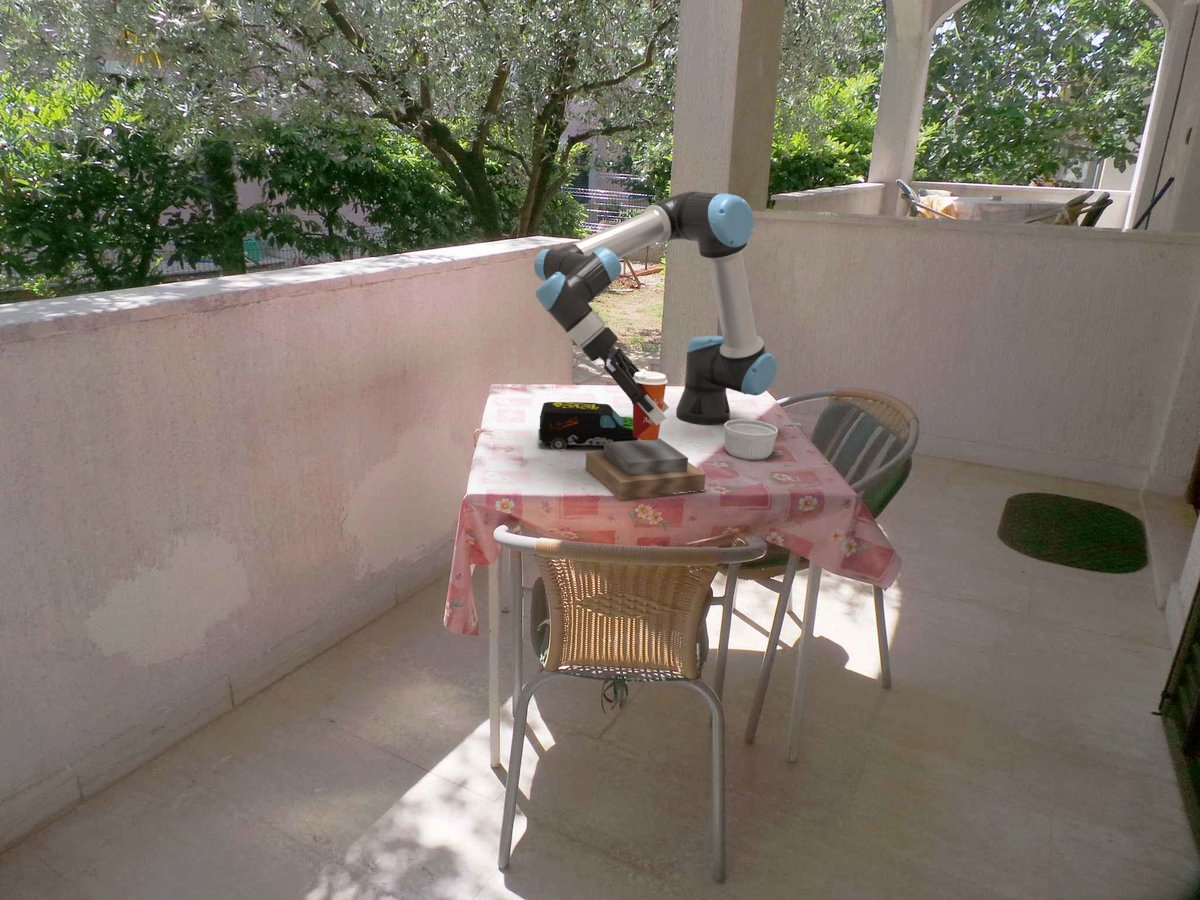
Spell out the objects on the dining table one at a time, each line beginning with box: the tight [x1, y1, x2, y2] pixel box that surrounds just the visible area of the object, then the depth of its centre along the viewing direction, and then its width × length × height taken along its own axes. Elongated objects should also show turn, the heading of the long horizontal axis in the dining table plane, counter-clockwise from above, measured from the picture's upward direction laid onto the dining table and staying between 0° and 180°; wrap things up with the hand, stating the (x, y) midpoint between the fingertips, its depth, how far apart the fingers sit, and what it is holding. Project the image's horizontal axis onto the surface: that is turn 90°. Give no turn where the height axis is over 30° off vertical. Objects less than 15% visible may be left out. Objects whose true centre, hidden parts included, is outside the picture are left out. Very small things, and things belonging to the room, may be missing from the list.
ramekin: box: [723, 418, 779, 461], centre depth 212 cm, size 13×13×7 cm
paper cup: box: [632, 370, 668, 440], centre depth 185 cm, size 8×8×14 cm
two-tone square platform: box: [585, 438, 707, 501], centre depth 190 cm, size 20×20×7 cm
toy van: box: [537, 401, 639, 450], centre depth 212 cm, size 11×25×10 cm, turn 94°
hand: (662, 415), depth 185 cm, fingers closed on paper cup, 8 cm apart
